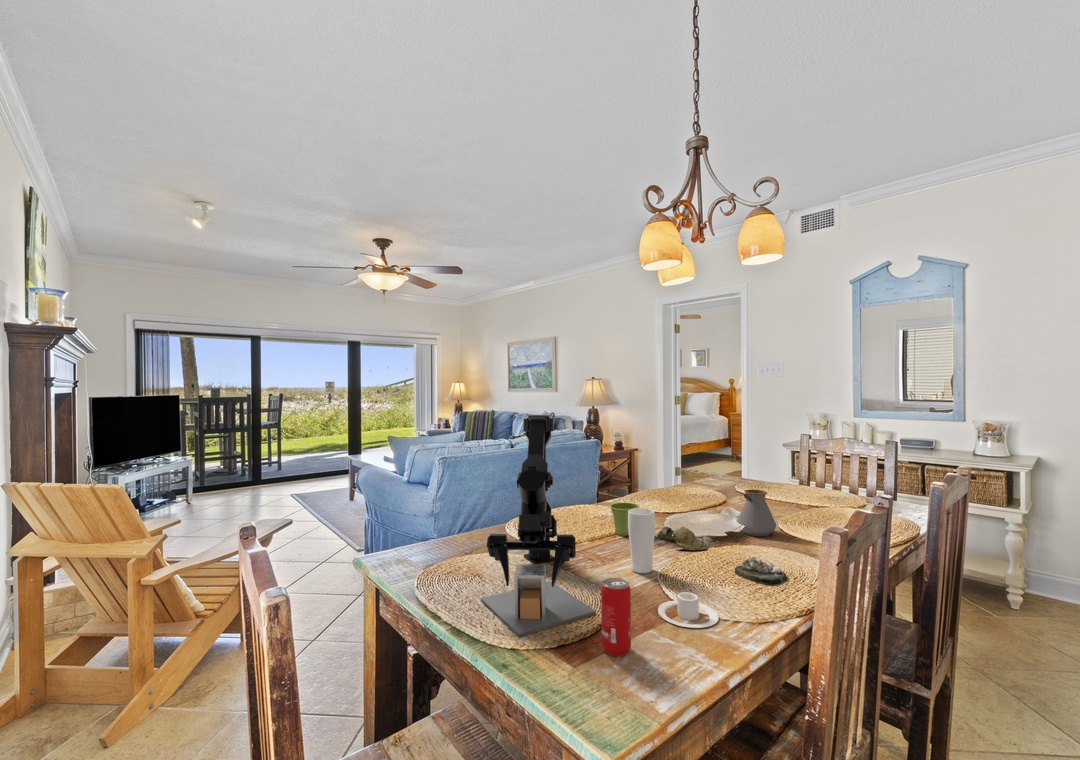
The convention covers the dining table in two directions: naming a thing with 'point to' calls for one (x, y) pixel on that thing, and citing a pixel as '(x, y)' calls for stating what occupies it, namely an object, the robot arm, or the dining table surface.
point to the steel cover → (530, 584)
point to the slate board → (557, 610)
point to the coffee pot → (756, 514)
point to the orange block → (530, 604)
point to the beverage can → (616, 616)
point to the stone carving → (760, 572)
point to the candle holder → (688, 610)
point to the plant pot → (621, 516)
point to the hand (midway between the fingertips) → (530, 585)
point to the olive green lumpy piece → (683, 538)
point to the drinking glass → (641, 539)
